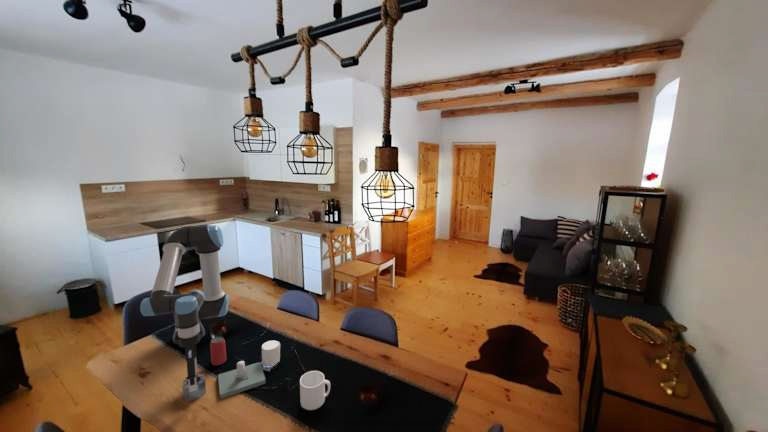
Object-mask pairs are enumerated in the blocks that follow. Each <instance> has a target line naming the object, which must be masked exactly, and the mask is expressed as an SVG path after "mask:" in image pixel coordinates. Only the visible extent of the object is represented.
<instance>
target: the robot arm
mask: <svg viewBox="0 0 768 432" xmlns="http://www.w3.org/2000/svg"><path fill="white" fill-rule="evenodd" d="M223 245H224V237H223V233H222V229H221V228H220V226H218V225H212V224H208V225H205V224H204V225H194V226H193V225H185V226H182V227H180V228H178V229H176V230H174V231H173V232H172V233H171V234H170V235H169V236H168V237H167V238H166V239H165V241H164V243H163V246H162V252H163V253H162V258H161V262H160V265H159V268H158V271H157V274H156V277H155V281H154V284H153V287H152V291H151V294H150V296H149V297H144V298H143V299H142V301H141V302H140V306H139V309H140V310H139V311H140V313H141V315H142V316H143V317H153V316H154V317H155V316H161V315H168V314H173V317H174V318H173V319H174V325H175V326H174V327H175V328H174V332H173V335H172V343H174V344H175V345H178V346H179V347H180V348H184V354H185V361H186V369H187V371H186V373H187V376H186V377H185V379H188V384H189V392H192V391H196V390H197V381H196V374H197V373H196V372H198V363H197V362H198V361H197V356H198V355H199V354H198V352H197V344H199V342H200V341H201V339H203V338H204V336H205V335H206V330H205V328H204V325H203V323H202V322H201V320H203V319H204V320H205V319H212V318H219V317H224V316H226V315H227V314H228V310H229V303H230V302H229V300H230V296H229V295H230V294H227V293H226V291H225V290H223V289H222V280H221V272H220V271H221V269H220V261H219V254H218V252H219V251H220V250H221V247H223ZM189 249H192V250H193V249H194V250H195V253H196V254H198V255H199V263H200V270H201V280H202V286H203V291H202V290H199V289H193V290H190V291H189V292H187V293H181V294H180V293H179V294H173V292H174V289H175V284H176V281H177V277H178V273H179V268H180V266H181V265H180V264H181V262H182V257H183V255H184V254H185V253H186V252H187V250H189Z"/></svg>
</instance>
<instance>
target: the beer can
mask: <svg viewBox="0 0 768 432" xmlns="http://www.w3.org/2000/svg"><path fill="white" fill-rule="evenodd" d="M226 347H227V346H226V341H225V339H224V337H223V336H216V337H214V338H212V339H210V344H209V349H210V363H211V365H212V366H221V365H223V364H224V363H225V362H227V350H226Z"/></svg>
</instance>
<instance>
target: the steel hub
mask: <svg viewBox="0 0 768 432" xmlns="http://www.w3.org/2000/svg"><path fill="white" fill-rule="evenodd" d="M195 374H196V381H197V390H196V391H192V392H189V384H188V379H186V378H185V379H184V380H183V381H182V385H181V387H182V396H183V400H184V401H188V402H191V401H194V400H197V399H200V398H201V397H202V396H204V395H205V394H206V393H207V386H206V385H207V384H206V375H205V374H201V373H195Z"/></svg>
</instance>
